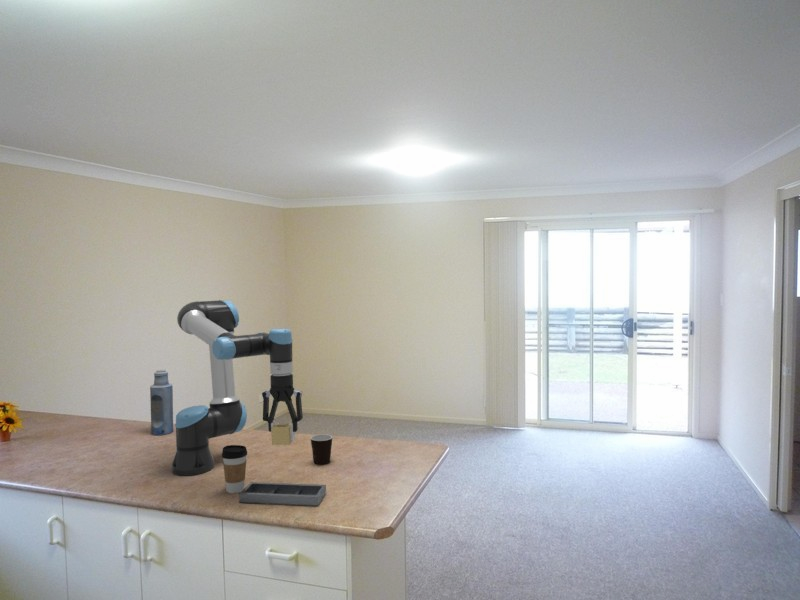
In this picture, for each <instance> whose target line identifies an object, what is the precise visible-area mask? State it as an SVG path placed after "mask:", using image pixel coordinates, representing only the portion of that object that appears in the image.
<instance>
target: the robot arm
mask: <svg viewBox="0 0 800 600" xmlns="http://www.w3.org/2000/svg"><path fill="white" fill-rule="evenodd" d="M177 313H178V314H177V317H176V318H177V319H176V320H177V321H176V322H177V324H178V325H177V326H178V327H179V328H180V329H181V330H182V331H184V332H185V333H186V334H189V335H194V336H195V337H197V338H198V339H200V340H201V341H203V342H204V343H205V344H206V345H208V350H209V362H210V373H211V374H210V375H211V389H212V399H211V400H210V401H209V407H208V406H206V405H199V404H198V405H194V406H189V407H186V408H184V409H181V410H180V411H178V412H177V414H176V415H175V423H174V424H175V425H174V426H175V438H176V439H175V441H176V443H175V444H176V452H175V455H174V458H173V461H172V464H171V471H172V474H173V475H175V476H176V475H177V476H183V477H184V476H195V475H200V474H201V475H202V474H203V473H207V472H209V471H211V470H213V468H214V467H215V460H214V456H213V455H212V451H211V449H210V447H209V446H210V444H209V443H210V441H209V439H213V438H217V437H222V436H225V435H233V434H234V433H238V432H239V433H240V431H242V430H243V428H244V427H245V426H246V423H247V416H248V415H247V414H248V412H247V408H246V406H245V404H244V403H243V402H241V401H240V397H238V396H236V388H235V387H236V386H235V375H234V374H235V373H234V361H233V359H240V358H247V357H248V358H249V357H257V356H266V355H267V356H269V366H270V367H269V369H270V370H269V371H270V372H269V373H270V374H271V375H270V388H269V390H265V391H263V392H262V393H261V397H262V399H263V400H262V401H263V402H262V403H263V405H262V421H263V422H267V423H268V432H270V433H271V435H270V437H271V442H272V428H271V427H272V426H274V425H275V424H276V423H277V422H276V420H275V417H276V412H277V410H278V406H279V403H280V402H284V403H285V404H286V406H287V409H288V412H289V415H290V418H291V422H289V423H290V435H291V442H292V443H294V442H295V441H296V432H297V431H298V428H299V427H298V422H300V421H302V420H303V418H304V416H303V406H302V405H303V404H302V395H303V391H302V390H295V388H294V375H293V371H294V368H293V338H292V337H293V335H292V330H291V329H289V328H272V329H270V330H269V332H267V333H266V332H256V333H253V334H244V335H243V334H242V335H235V334H234V333H235V329H236V328H237V327H238V326H239V323H240V315H239V311H238V308H237V307H236V305H235V304H234V303H233V302H232V301H230V300H220V299H219V300H206V301H205V300H203V301H200V300H199V301H197V300H196V301H192V302H189V303H187V304H185V305H183V306H182V307H181V308H180V309H179V311H178V312H177ZM293 395H294V398H295V407H296V408H295V407H294V403H293V399H292V396H293ZM271 396H272V398H273V400H272V405H271V408H270V397H271ZM295 409H296V410H295Z"/></svg>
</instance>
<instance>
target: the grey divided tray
mask: <svg viewBox="0 0 800 600" xmlns="http://www.w3.org/2000/svg"><path fill="white" fill-rule="evenodd" d="M326 495H327V485H326V484H313V483H312V484H311V483H310V484H309V483H290V482H289V483H287V482H285V483H283V482H282V483H281V482H262V481H260V482H259V481H258V482H257V481H255V482H254V481H250V482H249V484H247V486H245V487H244V490H243V491H242V492H239V494H238V503H240V504H254V505H256V504H258V505H259V504H260V505H279V506H280V505H282V506H301V507H303V506H304V507H305V506H306V507H319V506H320V504H321V502H322V501H323V499H324V498H325V496H326Z"/></svg>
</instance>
